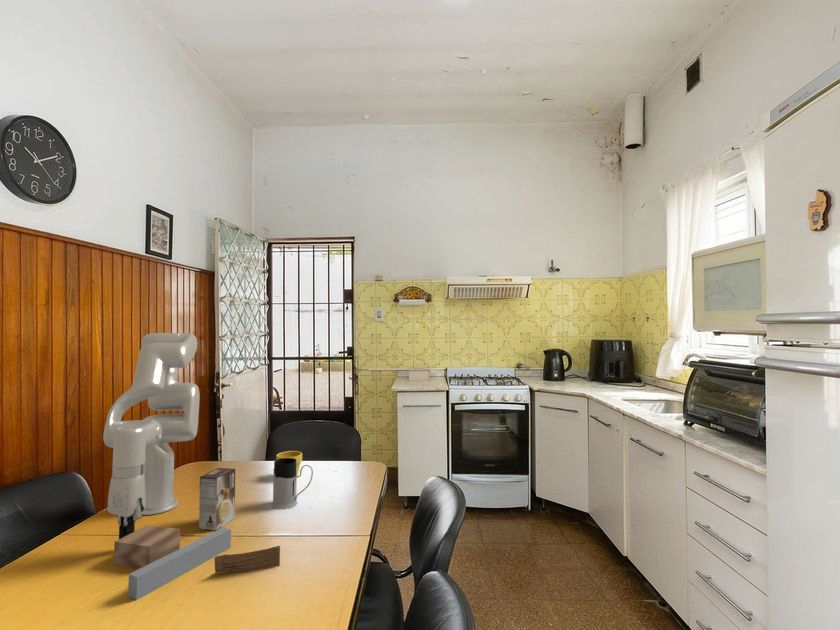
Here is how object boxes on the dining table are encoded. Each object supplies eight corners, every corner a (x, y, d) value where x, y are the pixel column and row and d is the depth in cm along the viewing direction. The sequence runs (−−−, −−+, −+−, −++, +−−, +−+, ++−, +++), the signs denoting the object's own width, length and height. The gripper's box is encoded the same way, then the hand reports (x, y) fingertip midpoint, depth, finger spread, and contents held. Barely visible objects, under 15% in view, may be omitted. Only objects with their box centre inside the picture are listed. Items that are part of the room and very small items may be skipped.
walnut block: (113, 565, 110) (114, 541, 111) (146, 546, 120) (147, 524, 120) (149, 570, 108) (149, 546, 108) (179, 551, 118) (180, 529, 118)
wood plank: (279, 563, 112) (279, 543, 112) (279, 567, 110) (280, 547, 110) (215, 573, 107) (215, 553, 107) (214, 578, 105) (214, 557, 105)
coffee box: (217, 516, 139) (219, 467, 140) (235, 518, 138) (236, 468, 139) (197, 529, 130) (199, 476, 131) (216, 531, 129) (217, 477, 130)
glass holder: (276, 499, 154) (277, 457, 155) (315, 499, 154) (316, 457, 154) (267, 509, 146) (268, 464, 146) (308, 509, 145) (309, 465, 146)
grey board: (128, 596, 97) (128, 574, 97) (223, 545, 121) (223, 527, 121) (136, 600, 96) (137, 577, 96) (230, 547, 119) (231, 529, 120)
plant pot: (278, 474, 182) (279, 450, 182) (303, 473, 183) (304, 450, 183) (273, 482, 171) (273, 457, 172) (299, 481, 172) (299, 457, 173)
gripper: (98, 471, 118) (95, 538, 118) (131, 479, 112) (129, 550, 111) (126, 463, 125) (124, 527, 124) (159, 470, 119) (157, 537, 118)
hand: (126, 538), depth 118 cm, fingers closed
